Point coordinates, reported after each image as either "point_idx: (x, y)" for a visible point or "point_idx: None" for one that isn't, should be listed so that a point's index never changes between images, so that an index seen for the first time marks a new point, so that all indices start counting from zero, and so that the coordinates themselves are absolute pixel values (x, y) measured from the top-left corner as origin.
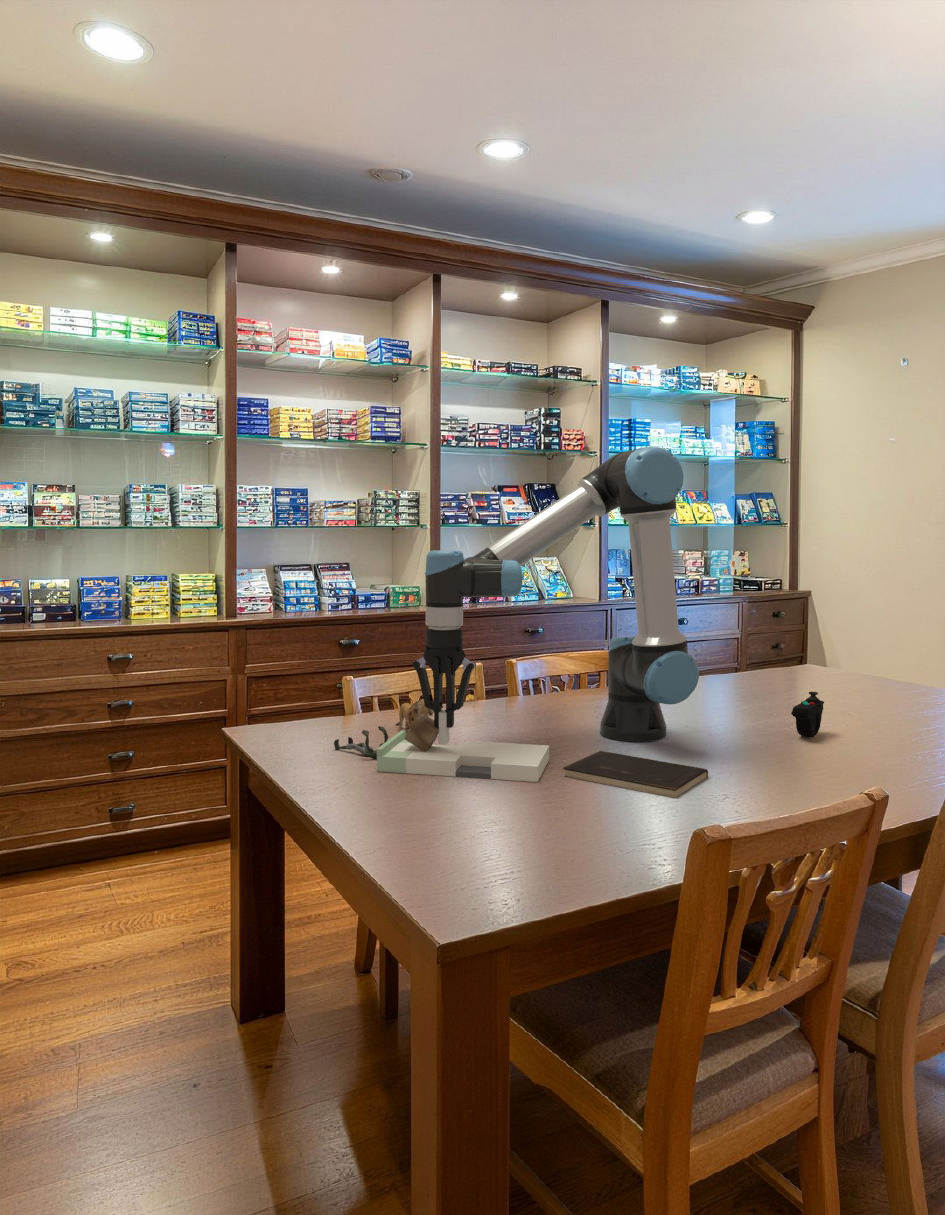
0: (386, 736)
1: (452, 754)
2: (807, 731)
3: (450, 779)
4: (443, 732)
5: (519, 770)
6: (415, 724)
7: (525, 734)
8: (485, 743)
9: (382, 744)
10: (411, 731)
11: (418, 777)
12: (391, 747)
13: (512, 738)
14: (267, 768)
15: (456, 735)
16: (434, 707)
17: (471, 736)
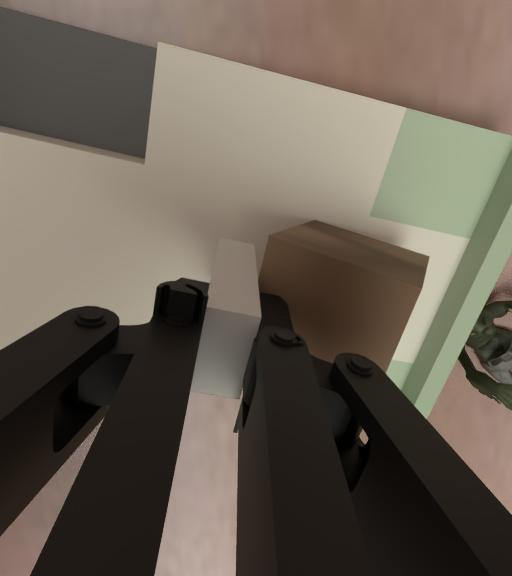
0: (479, 373)
1: (186, 181)
2: None
3: (189, 10)
4: (229, 258)
5: None
6: (405, 271)
7: (10, 556)
8: None
9: (488, 323)
10: (410, 263)
11: (330, 46)
12: (459, 272)
13: (40, 522)
14: None
15: (214, 541)
16: (300, 349)
17: (169, 534)
